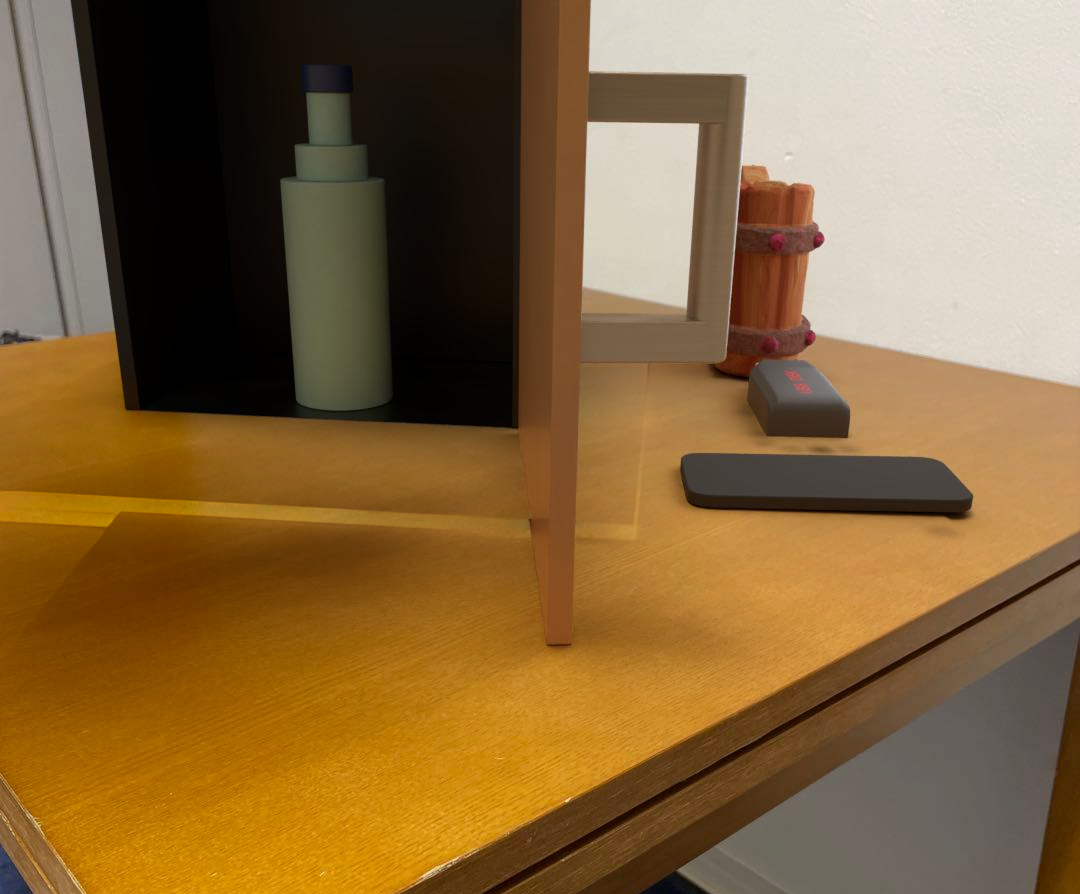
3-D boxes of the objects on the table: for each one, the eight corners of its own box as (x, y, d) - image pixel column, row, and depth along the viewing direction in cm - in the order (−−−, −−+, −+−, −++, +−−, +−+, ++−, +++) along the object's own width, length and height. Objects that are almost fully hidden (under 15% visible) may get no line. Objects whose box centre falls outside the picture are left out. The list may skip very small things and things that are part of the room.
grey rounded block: (766, 437, 70) (770, 395, 69) (740, 389, 81) (743, 352, 80) (848, 439, 70) (853, 397, 69) (811, 390, 81) (815, 354, 80)
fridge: (527, 444, 68) (534, -159, 56) (127, 424, 70) (49, -156, 58) (556, 374, 84) (566, -102, 72) (231, 360, 87) (187, -102, 75)
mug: (820, 388, 82) (844, 176, 76) (711, 386, 82) (727, 175, 76) (779, 345, 95) (797, 163, 90) (686, 344, 95) (698, 162, 89)
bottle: (282, 408, 71) (256, 63, 63) (312, 384, 77) (291, 65, 69) (379, 413, 70) (365, 64, 62) (402, 388, 76) (391, 66, 68)
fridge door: (628, 444, 68) (657, -155, 55) (717, 642, 44) (802, -337, 31) (518, 445, 67) (523, -159, 55) (546, 645, 43) (566, -347, 31)
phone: (679, 451, 64) (938, 456, 63) (678, 465, 64) (936, 470, 64) (689, 495, 57) (980, 501, 57) (688, 510, 57) (977, 516, 57)
